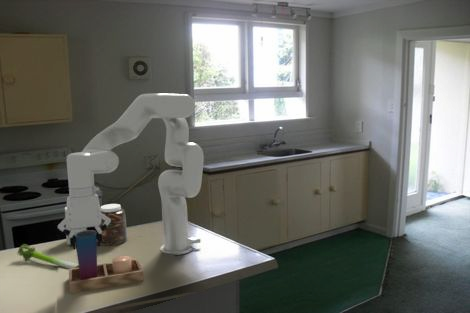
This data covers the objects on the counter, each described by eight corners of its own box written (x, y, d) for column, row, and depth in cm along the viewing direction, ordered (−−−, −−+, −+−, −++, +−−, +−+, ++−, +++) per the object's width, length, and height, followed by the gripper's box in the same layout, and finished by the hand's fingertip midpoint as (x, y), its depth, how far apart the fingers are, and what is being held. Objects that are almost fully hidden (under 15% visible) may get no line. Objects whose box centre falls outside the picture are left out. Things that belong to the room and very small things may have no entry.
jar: (133, 240, 183) (130, 205, 181) (108, 247, 174) (106, 211, 172) (116, 234, 191) (114, 201, 189) (92, 242, 182) (90, 207, 180)
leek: (70, 279, 150) (12, 260, 163) (85, 274, 156) (28, 256, 169) (71, 262, 149) (13, 244, 162) (87, 258, 156) (29, 240, 169)
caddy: (137, 269, 152) (137, 258, 151) (143, 282, 140) (142, 271, 140) (70, 280, 144) (69, 268, 143) (70, 295, 133) (69, 283, 132)
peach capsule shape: (130, 271, 148) (129, 254, 147) (133, 278, 142) (132, 260, 141) (112, 274, 146) (111, 257, 145) (114, 281, 140) (113, 263, 139)
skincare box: (67, 245, 179) (64, 210, 177) (66, 240, 185) (63, 206, 182) (88, 242, 182) (85, 207, 180) (87, 237, 188) (84, 204, 186)
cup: (93, 283, 136) (89, 237, 134) (73, 282, 138) (69, 236, 135) (103, 274, 143) (100, 230, 141) (85, 273, 144) (81, 229, 142)
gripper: (109, 186, 143) (113, 239, 145) (52, 192, 137) (57, 247, 139) (111, 191, 136) (115, 246, 138) (51, 197, 130) (57, 254, 132)
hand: (86, 246), depth 139 cm, fingers closed on cup, 6 cm apart
